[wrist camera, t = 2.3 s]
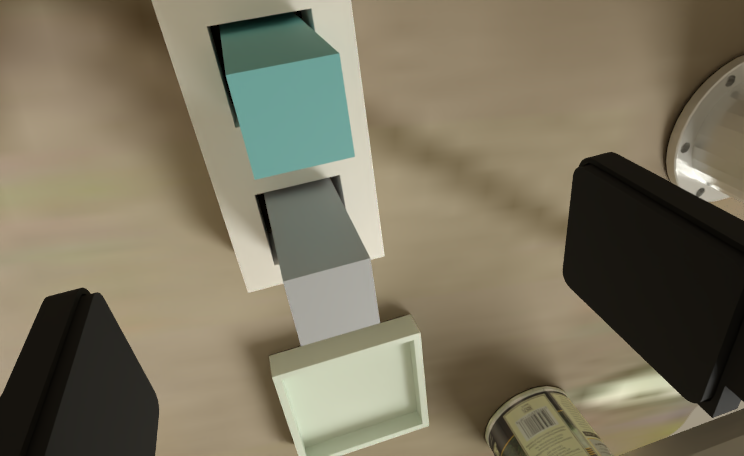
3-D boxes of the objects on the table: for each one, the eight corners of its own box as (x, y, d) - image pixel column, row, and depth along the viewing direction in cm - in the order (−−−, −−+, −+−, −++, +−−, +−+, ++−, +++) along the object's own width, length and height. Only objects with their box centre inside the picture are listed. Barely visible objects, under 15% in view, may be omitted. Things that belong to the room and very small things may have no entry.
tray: (410, 314, 41) (420, 332, 39) (420, 406, 48) (429, 425, 46) (268, 355, 39) (272, 377, 37) (298, 446, 46) (302, 468, 44)
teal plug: (291, 10, 27) (339, 53, 17) (305, 82, 29) (354, 156, 20) (219, 23, 27) (225, 75, 17) (238, 95, 29) (254, 179, 19)
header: (158, -10, 25) (150, -2, 22) (329, -37, 27) (346, -33, 23) (244, 258, 34) (248, 292, 31) (368, 226, 36) (384, 256, 32)
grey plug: (320, 158, 32) (370, 258, 22) (330, 211, 34) (380, 323, 24) (259, 172, 31) (283, 281, 22) (273, 225, 34) (301, 346, 24)
